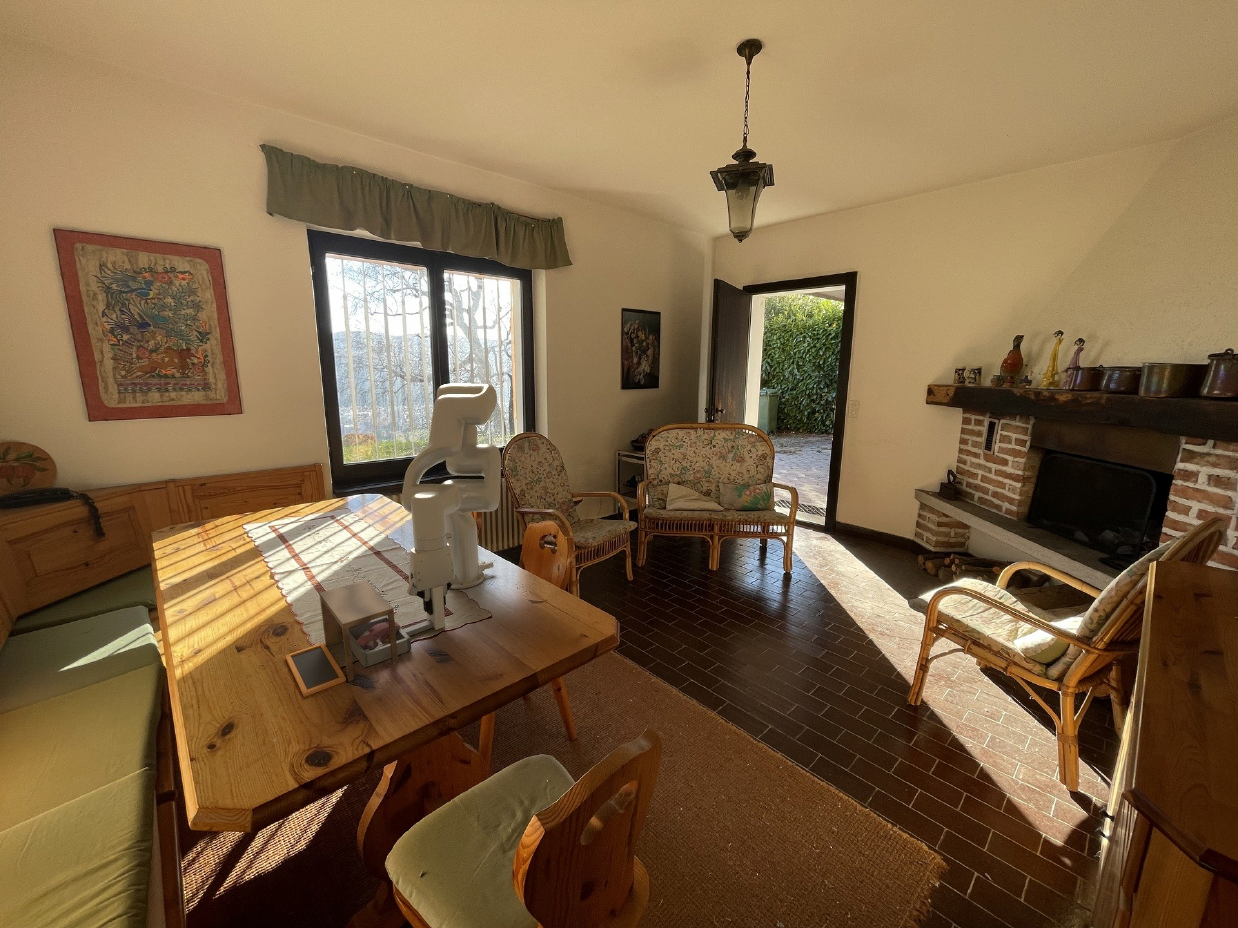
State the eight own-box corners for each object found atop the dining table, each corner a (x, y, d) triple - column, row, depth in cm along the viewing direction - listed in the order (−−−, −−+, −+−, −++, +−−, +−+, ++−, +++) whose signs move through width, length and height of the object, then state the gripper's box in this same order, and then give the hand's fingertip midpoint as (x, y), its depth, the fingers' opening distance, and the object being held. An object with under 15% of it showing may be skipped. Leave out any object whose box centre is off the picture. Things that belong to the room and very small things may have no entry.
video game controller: (360, 663, 112) (365, 642, 109) (349, 649, 114) (354, 628, 111) (399, 642, 120) (405, 622, 117) (388, 629, 122) (394, 610, 119)
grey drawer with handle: (429, 612, 131) (426, 573, 129) (453, 633, 121) (450, 592, 119) (345, 640, 118) (340, 598, 115) (364, 667, 108) (359, 621, 105)
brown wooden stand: (370, 629, 123) (365, 580, 121) (398, 662, 110) (393, 607, 107) (325, 644, 117) (319, 592, 114) (349, 681, 103) (342, 624, 101)
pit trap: (323, 645, 116) (323, 642, 116) (345, 680, 104) (345, 677, 103) (285, 658, 111) (285, 655, 111) (304, 697, 98) (303, 693, 98)
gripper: (455, 530, 129) (458, 595, 133) (390, 545, 118) (397, 615, 122) (468, 538, 124) (471, 606, 127) (402, 554, 113) (408, 628, 117)
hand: (435, 610), depth 125 cm, fingers closed on grey drawer with handle, 2 cm apart
